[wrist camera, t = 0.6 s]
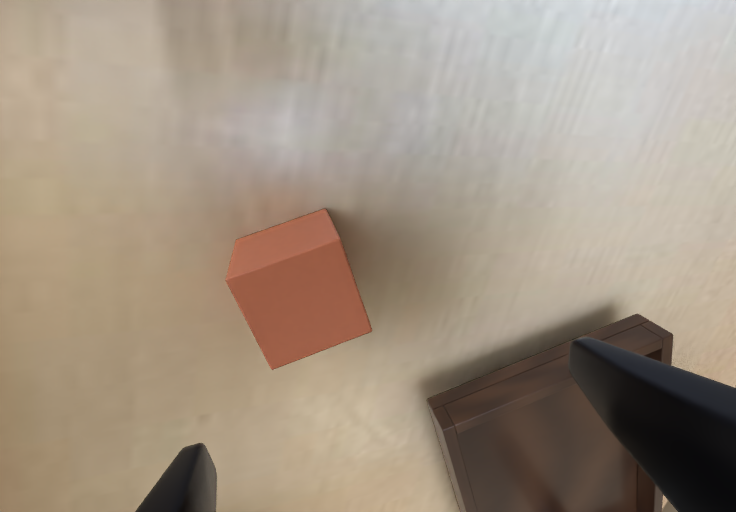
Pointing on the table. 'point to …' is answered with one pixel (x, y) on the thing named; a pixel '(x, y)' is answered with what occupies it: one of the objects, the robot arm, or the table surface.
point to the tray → (544, 435)
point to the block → (297, 289)
